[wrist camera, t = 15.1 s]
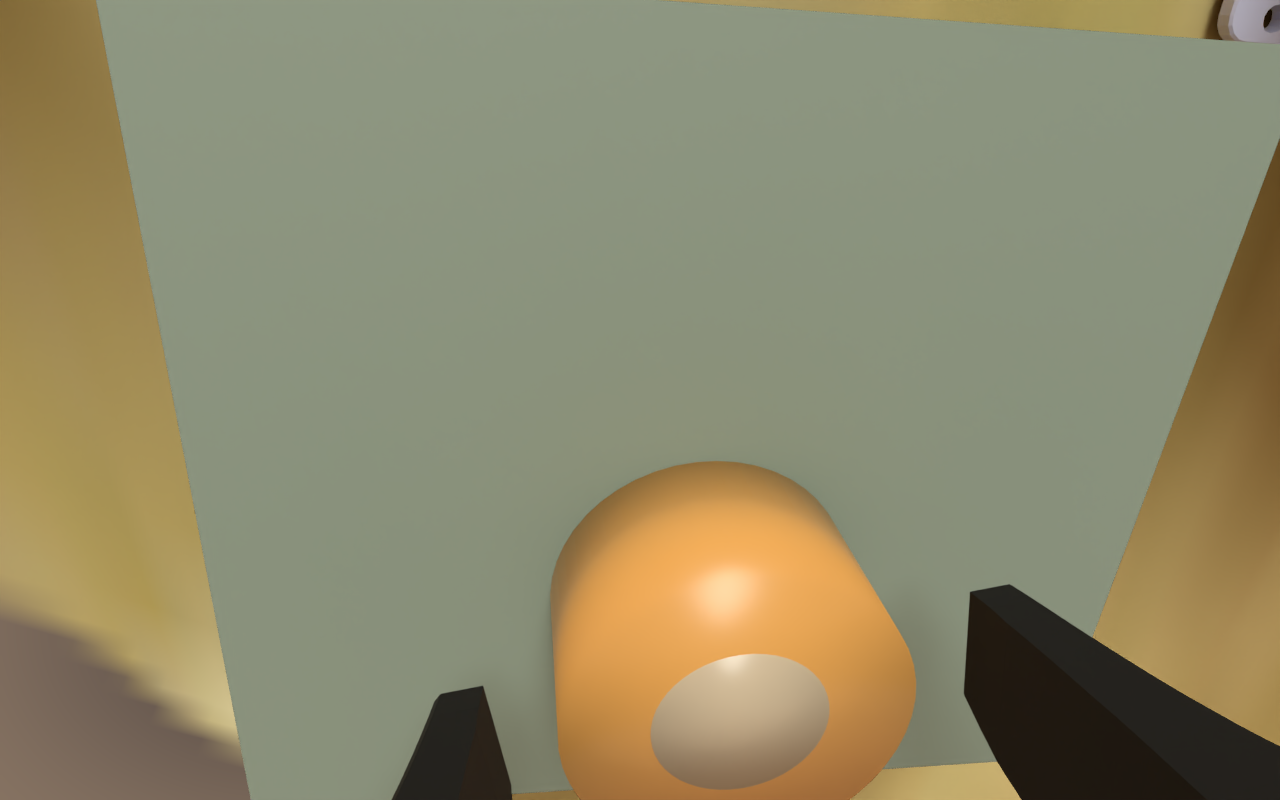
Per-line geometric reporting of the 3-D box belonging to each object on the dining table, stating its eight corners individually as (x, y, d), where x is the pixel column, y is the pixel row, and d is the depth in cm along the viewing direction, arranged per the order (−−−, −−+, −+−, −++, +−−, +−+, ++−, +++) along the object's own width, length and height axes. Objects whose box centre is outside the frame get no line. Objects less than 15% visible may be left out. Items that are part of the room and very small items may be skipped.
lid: (1268, 43, 13) (1313, 47, 12) (1026, 728, 19) (1047, 758, 18) (117, -38, 10) (87, -41, 10) (264, 775, 16) (252, 811, 16)
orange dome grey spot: (897, 585, 15) (980, 714, 12) (679, 742, 16) (712, 893, 13) (724, 400, 13) (779, 506, 10) (486, 594, 14) (477, 738, 11)
